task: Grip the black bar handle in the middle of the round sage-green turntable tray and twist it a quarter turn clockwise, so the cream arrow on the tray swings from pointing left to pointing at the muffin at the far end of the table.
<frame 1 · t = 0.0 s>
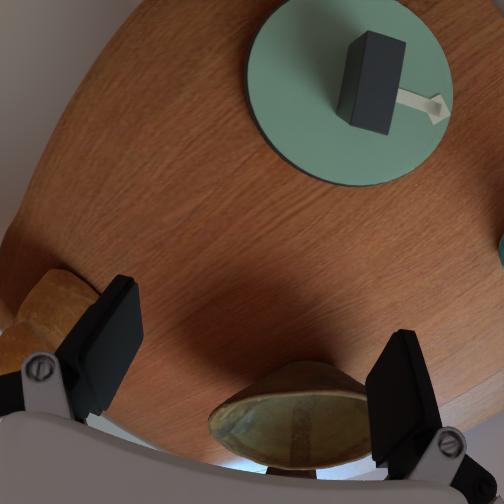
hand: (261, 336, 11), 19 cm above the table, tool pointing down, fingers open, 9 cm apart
turntable base: (352, 83, 22), on the table
bread: (71, 328, 44), on the table
muffin: (292, 455, 55), on the table
bowl: (304, 378, 41), on the table
turntable tray: (365, 82, 18), point 5 cm above the table, hinge at 0.0°
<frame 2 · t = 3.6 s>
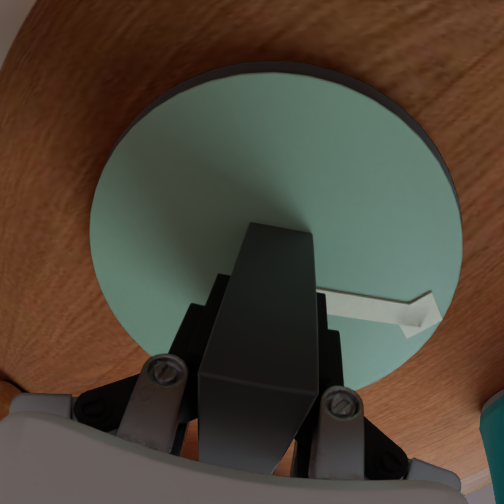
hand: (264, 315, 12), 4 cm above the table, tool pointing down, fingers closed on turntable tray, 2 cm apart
turntable base: (273, 264, 15), on the table
beverage can: (501, 398, 19), on the table
bread: (32, 418, 36), on the table
turntable tray: (260, 344, 10), point 5 cm above the table, hinge at -0.2°, touching gripper
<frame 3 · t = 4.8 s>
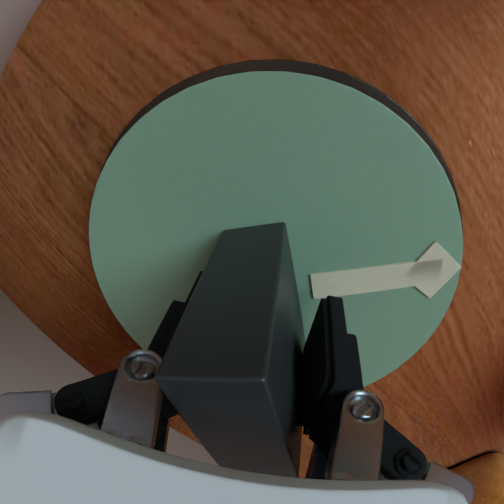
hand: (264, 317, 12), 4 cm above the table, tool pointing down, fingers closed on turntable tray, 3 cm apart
turntable base: (272, 263, 15), on the table
bread: (464, 479, 30), on the table
turntable tray: (259, 344, 10), point 5 cm above the table, hinge at -68.7°, touching gripper
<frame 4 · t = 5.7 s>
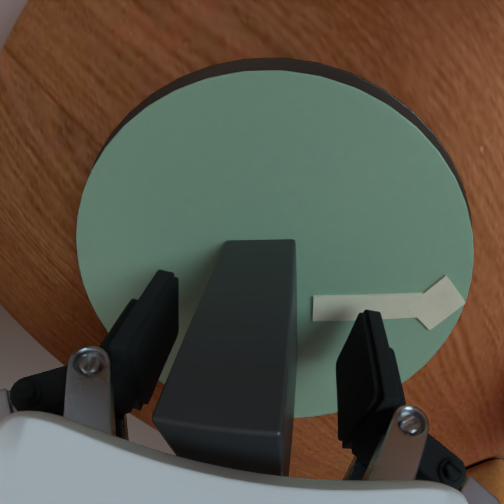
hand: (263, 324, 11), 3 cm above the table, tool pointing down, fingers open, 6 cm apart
turntable base: (270, 277, 14), on the table
bread: (465, 484, 29), on the table
turntable tray: (255, 369, 10), point 5 cm above the table, hinge at -75.8°
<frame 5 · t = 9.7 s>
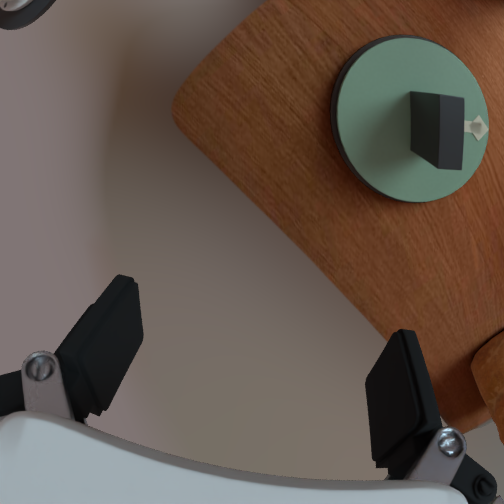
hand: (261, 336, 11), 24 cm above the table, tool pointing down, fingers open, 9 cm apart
turntable base: (414, 119, 27), on the table
turntable tray: (433, 125, 23), point 5 cm above the table, hinge at -75.8°
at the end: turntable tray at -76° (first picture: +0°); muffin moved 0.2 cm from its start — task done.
